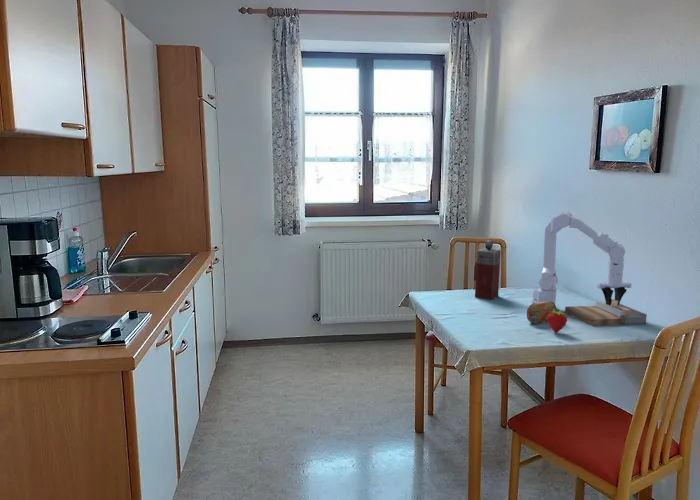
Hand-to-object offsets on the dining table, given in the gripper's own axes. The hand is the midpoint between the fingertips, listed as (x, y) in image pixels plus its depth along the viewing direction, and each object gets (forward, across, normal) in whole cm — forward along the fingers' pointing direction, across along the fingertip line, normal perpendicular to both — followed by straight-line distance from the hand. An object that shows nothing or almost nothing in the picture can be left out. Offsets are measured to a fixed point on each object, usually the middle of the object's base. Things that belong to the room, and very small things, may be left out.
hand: (612, 304), depth 227 cm
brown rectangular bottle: (+6, -40, +41) cm, 58 cm away
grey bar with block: (+3, -1, 0) cm, 3 cm away
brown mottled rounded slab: (+6, -34, -3) cm, 34 cm away
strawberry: (+6, -34, -17) cm, 39 cm away
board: (+6, -8, 0) cm, 10 cm away
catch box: (+6, +4, 0) cm, 7 cm away
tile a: (+3, +2, -4) cm, 5 cm away
